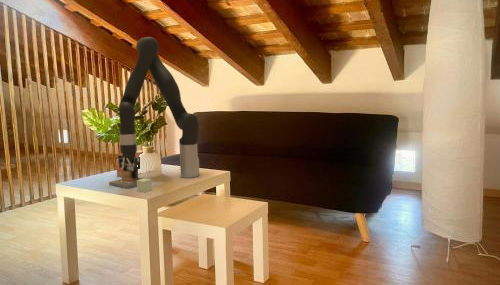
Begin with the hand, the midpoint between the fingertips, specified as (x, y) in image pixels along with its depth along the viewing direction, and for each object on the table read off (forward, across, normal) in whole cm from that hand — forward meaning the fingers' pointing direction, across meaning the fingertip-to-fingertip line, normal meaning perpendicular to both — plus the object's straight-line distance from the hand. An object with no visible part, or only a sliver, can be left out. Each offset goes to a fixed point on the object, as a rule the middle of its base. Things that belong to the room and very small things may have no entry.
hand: (130, 177), depth 192 cm
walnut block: (+2, 0, 0) cm, 2 cm away
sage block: (+4, -16, +5) cm, 17 cm away
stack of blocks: (+4, +17, -18) cm, 25 cm away
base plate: (+3, 0, 0) cm, 3 cm away
